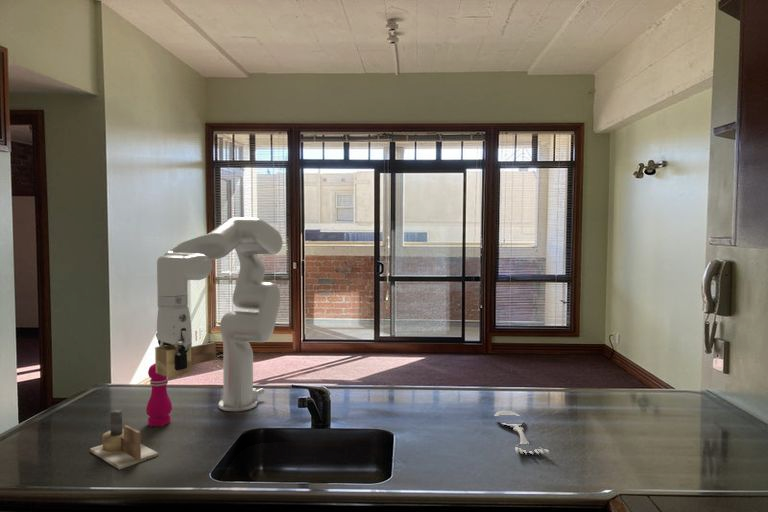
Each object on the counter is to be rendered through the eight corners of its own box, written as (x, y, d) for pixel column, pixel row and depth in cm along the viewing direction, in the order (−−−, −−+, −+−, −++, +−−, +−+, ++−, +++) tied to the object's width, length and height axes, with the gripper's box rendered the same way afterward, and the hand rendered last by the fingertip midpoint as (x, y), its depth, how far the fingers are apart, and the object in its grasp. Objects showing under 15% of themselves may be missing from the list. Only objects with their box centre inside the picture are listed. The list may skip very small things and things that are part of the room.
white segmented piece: (516, 462, 138) (516, 449, 138) (491, 417, 170) (491, 407, 170) (550, 463, 138) (550, 450, 138) (519, 418, 170) (519, 407, 170)
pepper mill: (162, 428, 155) (162, 361, 154) (141, 426, 156) (140, 360, 155) (177, 419, 162) (176, 355, 161) (156, 417, 164) (155, 354, 162)
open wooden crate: (208, 360, 155) (208, 337, 154) (221, 364, 151) (221, 340, 150) (155, 372, 142) (155, 347, 142) (168, 377, 138) (168, 351, 138)
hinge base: (90, 451, 139) (89, 413, 138) (127, 439, 147) (127, 403, 146) (119, 469, 129) (118, 428, 128) (158, 455, 137) (157, 417, 136)
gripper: (203, 303, 139) (204, 369, 140) (168, 296, 150) (169, 358, 151) (177, 306, 133) (178, 376, 134) (142, 299, 144) (143, 363, 145)
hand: (173, 366), depth 143 cm, fingers closed on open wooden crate, 6 cm apart
